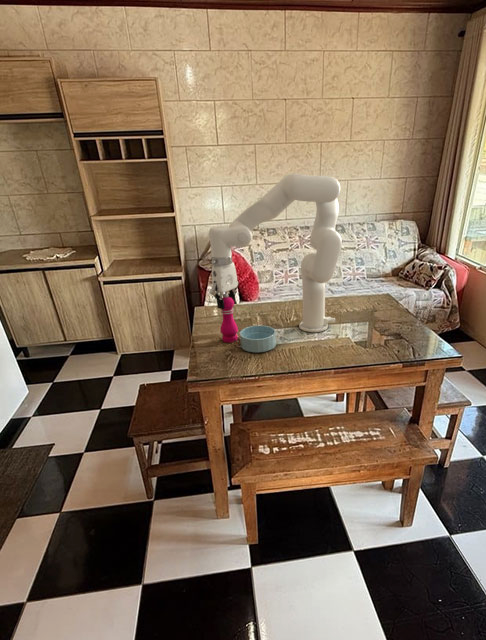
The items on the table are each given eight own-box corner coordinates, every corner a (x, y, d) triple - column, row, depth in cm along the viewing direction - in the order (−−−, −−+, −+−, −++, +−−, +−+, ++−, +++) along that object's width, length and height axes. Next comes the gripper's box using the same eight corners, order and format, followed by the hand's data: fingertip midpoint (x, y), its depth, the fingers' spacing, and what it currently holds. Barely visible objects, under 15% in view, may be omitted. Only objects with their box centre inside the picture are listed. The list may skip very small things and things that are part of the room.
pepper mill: (236, 343, 167) (231, 296, 157) (219, 342, 168) (213, 296, 158) (240, 336, 173) (236, 290, 163) (224, 335, 174) (219, 290, 165)
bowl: (273, 337, 171) (272, 323, 168) (278, 351, 159) (278, 337, 156) (239, 340, 169) (238, 327, 166) (242, 355, 157) (241, 341, 154)
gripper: (213, 267, 147) (218, 314, 155) (244, 257, 158) (247, 301, 167) (198, 264, 151) (204, 310, 159) (230, 254, 162) (234, 298, 171)
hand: (226, 305), depth 163 cm, fingers closed on pepper mill, 6 cm apart
